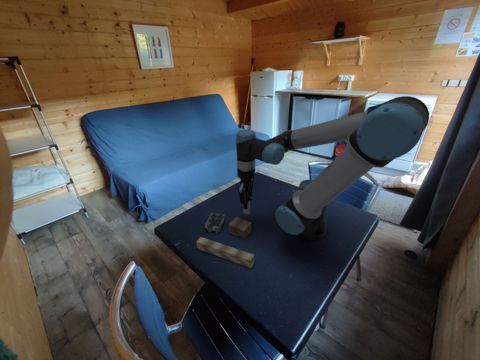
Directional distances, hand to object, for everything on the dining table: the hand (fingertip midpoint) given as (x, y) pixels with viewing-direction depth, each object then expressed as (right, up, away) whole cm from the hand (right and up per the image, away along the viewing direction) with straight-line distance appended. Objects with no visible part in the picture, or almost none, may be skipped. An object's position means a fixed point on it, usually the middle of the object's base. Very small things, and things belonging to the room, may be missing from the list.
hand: (246, 212), depth 105 cm
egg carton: (-15, -6, +1) cm, 16 cm away
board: (-9, -14, -16) cm, 23 cm away
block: (-3, -8, -4) cm, 10 cm away
